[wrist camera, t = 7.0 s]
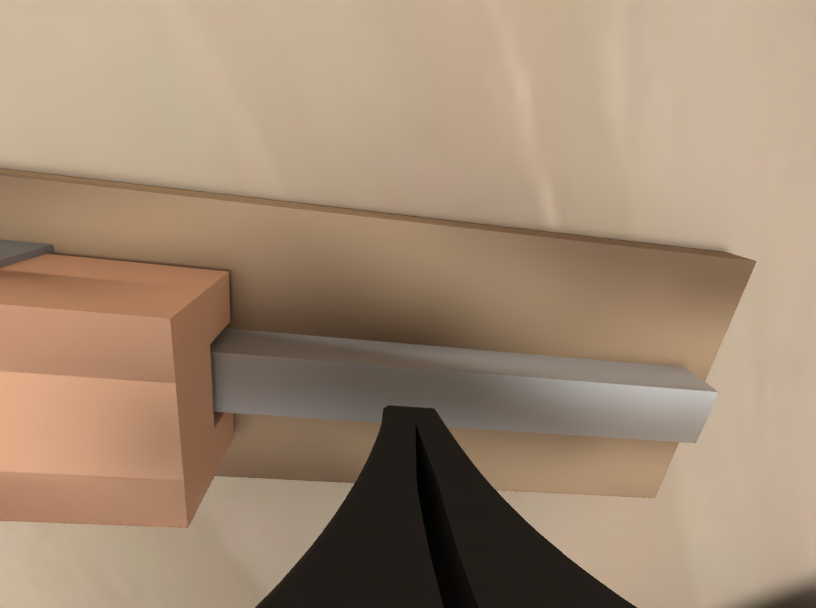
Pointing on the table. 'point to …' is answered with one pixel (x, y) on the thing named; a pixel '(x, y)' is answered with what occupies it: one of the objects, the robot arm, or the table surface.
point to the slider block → (109, 390)
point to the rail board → (419, 329)
